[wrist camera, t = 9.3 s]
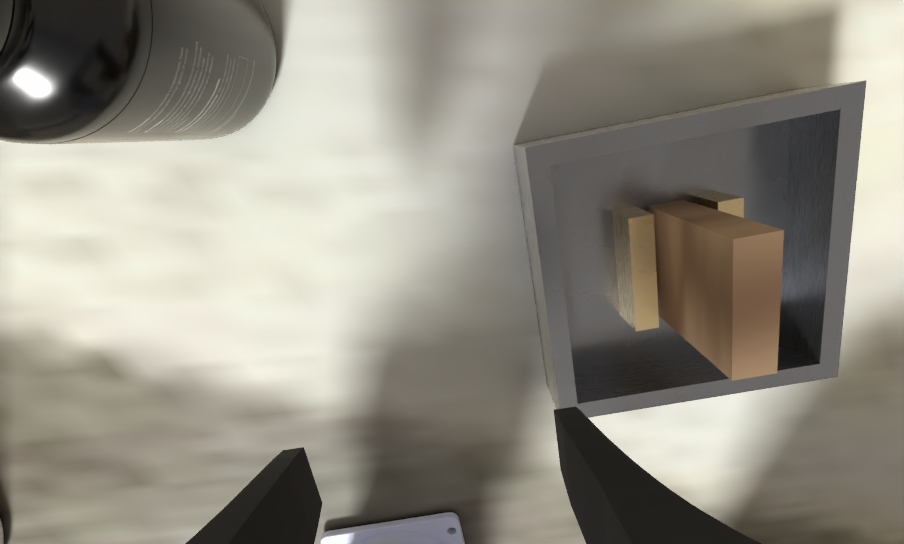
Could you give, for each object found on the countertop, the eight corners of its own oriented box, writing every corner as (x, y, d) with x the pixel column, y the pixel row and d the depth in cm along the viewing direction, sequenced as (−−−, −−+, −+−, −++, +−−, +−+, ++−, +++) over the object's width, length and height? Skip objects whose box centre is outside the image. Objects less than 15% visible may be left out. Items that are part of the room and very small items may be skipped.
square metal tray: (786, 344, 22) (837, 376, 19) (547, 384, 22) (561, 421, 19) (800, 88, 18) (866, 80, 15) (513, 144, 19) (524, 147, 16)
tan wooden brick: (685, 304, 20) (777, 373, 15) (652, 310, 20) (731, 380, 15) (682, 199, 19) (783, 230, 13) (647, 206, 19) (733, 238, 13)
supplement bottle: (237, -77, 16) (-271, -573, 5) (307, 111, 18) (70, 80, 7) (72, -17, 17) (-736, -331, 5) (159, 159, 19) (-291, 205, 7)
